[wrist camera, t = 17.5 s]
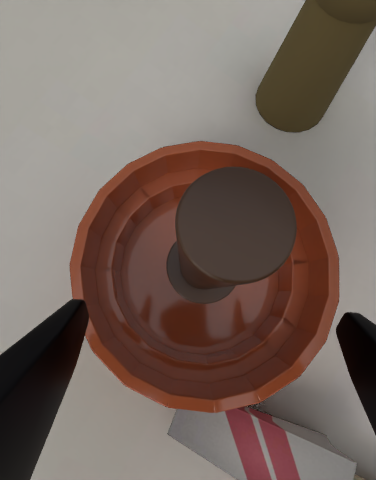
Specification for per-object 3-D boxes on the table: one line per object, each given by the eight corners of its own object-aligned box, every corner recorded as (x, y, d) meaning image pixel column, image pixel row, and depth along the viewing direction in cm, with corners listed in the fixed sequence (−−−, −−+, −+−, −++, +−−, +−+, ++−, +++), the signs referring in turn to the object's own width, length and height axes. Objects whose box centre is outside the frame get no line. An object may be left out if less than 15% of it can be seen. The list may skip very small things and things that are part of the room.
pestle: (233, 300, 17) (349, 319, 5) (169, 303, 17) (138, 327, 5) (229, 238, 18) (318, 133, 6) (168, 240, 18) (139, 136, 6)
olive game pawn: (293, 145, 20) (421, -23, 9) (240, 99, 21) (302, -104, 10) (339, 102, 21) (502, -94, 10) (287, 60, 22) (387, -163, 11)
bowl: (207, 426, 16) (218, 486, 11) (60, 275, 18) (13, 268, 13) (335, 264, 18) (391, 254, 13) (193, 146, 20) (197, 99, 15)
